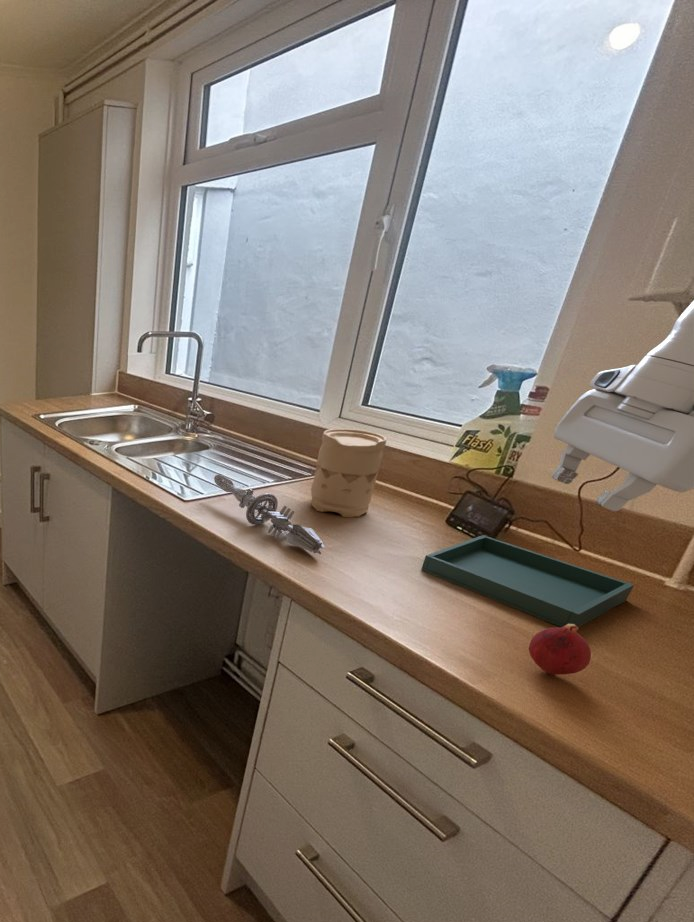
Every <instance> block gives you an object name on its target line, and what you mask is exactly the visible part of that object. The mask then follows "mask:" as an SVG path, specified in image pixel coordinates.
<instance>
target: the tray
mask: <svg viewBox="0 0 694 922" xmlns="http://www.w3.org/2000/svg"><path fill="white" fill-rule="evenodd" d="M421 571H423V572H426V573H427V574H429V575H432V576H435V577H438V578H440V579H443V580H445V581H447V582H449V583H453V584H454V585H458V586H460V587H462V588H463V589H464V588H465V589H467V590H469V591H472V592H474V593H477V594H478V595H482V596H484V597H487V598H488V599H491V600H493V601H495V602H498V603H501V604H503V605H506V606H508V607H511V608H513V609H515V610H518V611H521V612H523V613H526V614H528V615H530V616H533V617H535V618H538V619H540V620H543V621H545V622H547V623H549V624H551V625H555V626H557V627H558V628H561V627H563V626H565V625H567V624H575V625H576V626H577V627H578V628H579V627H581V626H584V625H585V624H587V623H588V622H590V621H592V620H594V619H595V618H598V617H599V616H602V615H603V614H605V613H606V612H609V611H610V610H612V609H614V608H616V607H617V606H619V605H621V604H623V603H624V602H627V600H628V597H629V596H630V594H631V592H632V590H633V588H634V587H635V584H633V583H630V582H627V581H624V580H621V579H618V578H615V577H612V576H609V575H606V574H603V573H600V572H597V571H595V570H590V569H588V568H584V567H582V566H578V565H576V564H572V563H569V562H566V561H563V560H560V559H558V558H554V557H552V556H548V555H546V554H542V553H539V552H537V551H533V550H531V549H526V548H524V547H521V546H518V545H515V544H511V543H509V542H505V541H502V540H500V539H496V538H493V537H490V536H487V535H484V534H483V535H479V536H476V537H474V538H470V539H468V540H465V541H463V542H460V543H457V544H454V545H451V546H449V547H445V548H442V549H440V550H437V551H434V552H431V553H429V554H426V555H425V557H424V560H423V563H422V566H421Z"/></svg>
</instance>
